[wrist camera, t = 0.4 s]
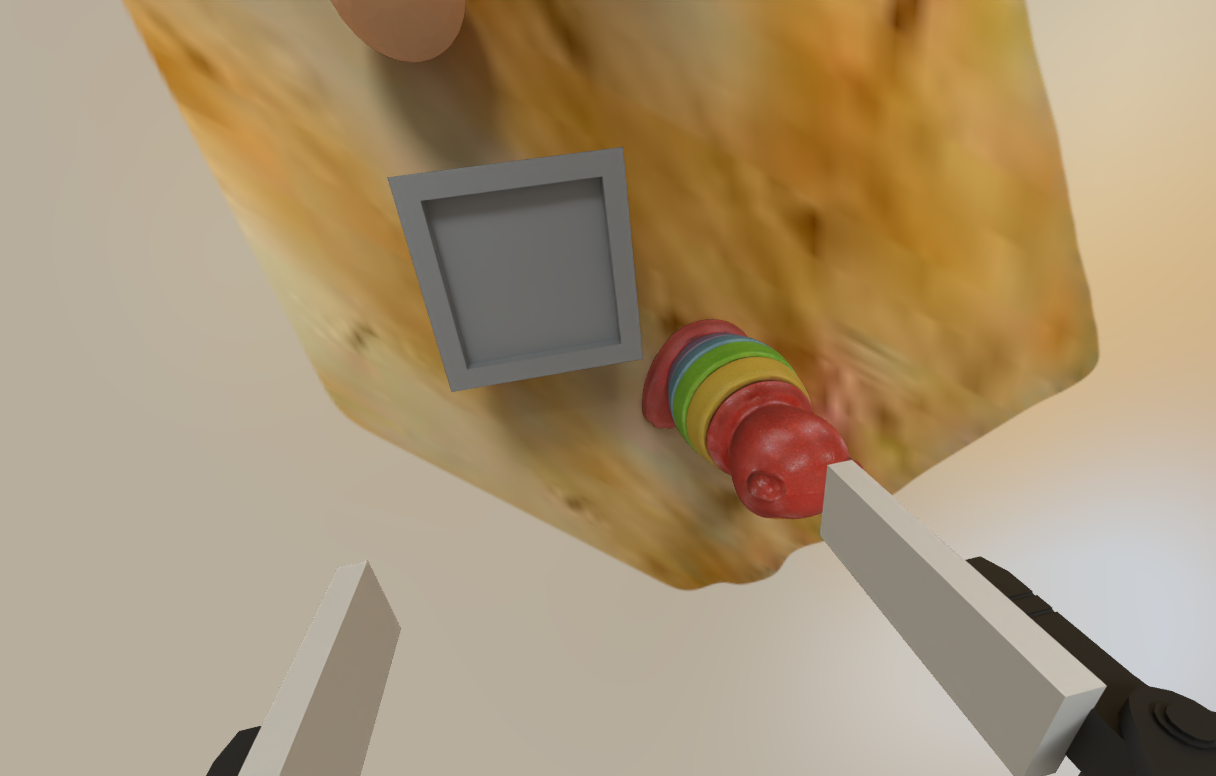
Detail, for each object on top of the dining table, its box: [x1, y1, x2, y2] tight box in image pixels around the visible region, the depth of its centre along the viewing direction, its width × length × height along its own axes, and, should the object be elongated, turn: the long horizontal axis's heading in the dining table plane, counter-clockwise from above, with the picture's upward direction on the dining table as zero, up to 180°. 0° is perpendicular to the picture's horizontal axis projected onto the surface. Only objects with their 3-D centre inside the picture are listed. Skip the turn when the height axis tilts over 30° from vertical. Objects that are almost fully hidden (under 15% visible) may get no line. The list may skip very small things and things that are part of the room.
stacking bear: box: [642, 319, 865, 519], centre depth 32 cm, size 11×10×18 cm
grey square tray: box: [387, 147, 643, 392], centre depth 30 cm, size 12×12×9 cm
